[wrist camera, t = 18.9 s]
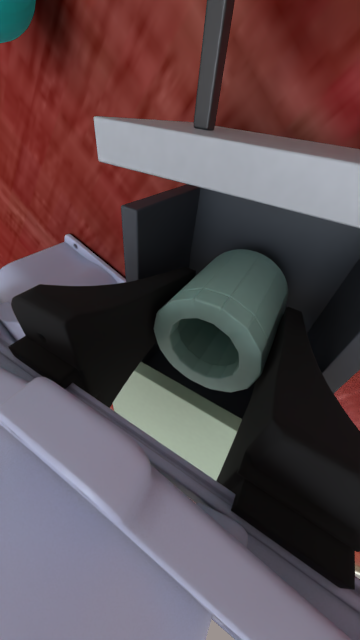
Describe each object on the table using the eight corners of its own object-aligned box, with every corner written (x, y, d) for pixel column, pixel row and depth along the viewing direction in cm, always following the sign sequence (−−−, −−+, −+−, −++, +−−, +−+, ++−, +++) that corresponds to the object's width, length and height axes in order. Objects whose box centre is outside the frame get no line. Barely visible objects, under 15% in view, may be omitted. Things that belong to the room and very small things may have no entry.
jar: (250, 338, 14) (218, 404, 10) (190, 290, 14) (141, 340, 11) (311, 290, 10) (293, 365, 7) (232, 228, 11) (178, 273, 7)
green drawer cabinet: (173, 289, 20) (102, 352, 14) (324, 353, 16) (309, 475, 10) (163, 380, 30) (119, 439, 24) (256, 434, 26) (230, 519, 20)
